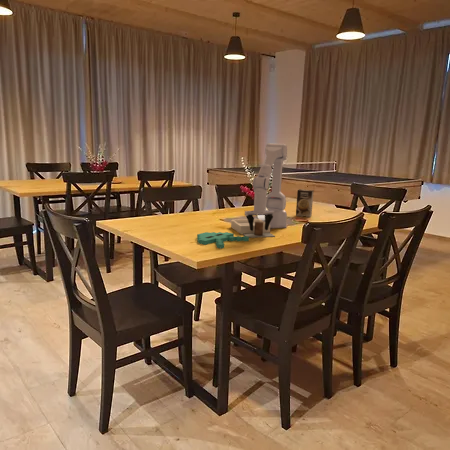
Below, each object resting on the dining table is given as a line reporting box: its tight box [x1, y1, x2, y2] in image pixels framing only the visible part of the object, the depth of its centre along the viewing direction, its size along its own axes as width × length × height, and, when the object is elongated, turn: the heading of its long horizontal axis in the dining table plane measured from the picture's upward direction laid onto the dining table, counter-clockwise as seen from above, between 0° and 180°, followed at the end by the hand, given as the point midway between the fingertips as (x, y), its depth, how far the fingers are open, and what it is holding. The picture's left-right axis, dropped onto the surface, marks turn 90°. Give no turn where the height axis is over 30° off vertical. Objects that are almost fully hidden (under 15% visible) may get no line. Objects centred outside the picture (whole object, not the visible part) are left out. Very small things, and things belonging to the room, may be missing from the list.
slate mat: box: [242, 232, 276, 239], centre depth 199 cm, size 14×7×1 cm, turn 106°
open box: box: [230, 218, 271, 235], centre depth 210 cm, size 16×16×4 cm
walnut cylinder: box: [254, 222, 263, 236], centre depth 198 cm, size 4×4×6 cm
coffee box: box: [295, 188, 315, 218], centre depth 253 cm, size 9×6×16 cm
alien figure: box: [196, 231, 250, 250], centre depth 187 cm, size 20×2×20 cm
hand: (258, 229), depth 198 cm, fingers open, 7 cm apart
